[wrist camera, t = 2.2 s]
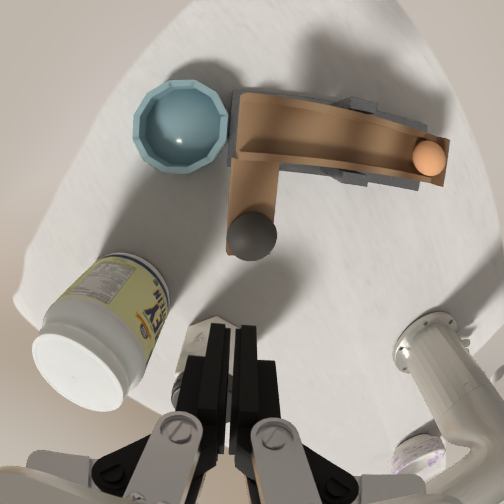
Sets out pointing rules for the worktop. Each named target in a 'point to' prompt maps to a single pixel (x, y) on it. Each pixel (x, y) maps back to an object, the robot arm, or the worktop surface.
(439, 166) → the ball
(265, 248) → the lever
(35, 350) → the supplement tub
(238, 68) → the worktop surface
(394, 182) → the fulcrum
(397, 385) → the worktop surface
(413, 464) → the paper bowls
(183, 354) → the jar
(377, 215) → the worktop surface
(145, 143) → the dish
